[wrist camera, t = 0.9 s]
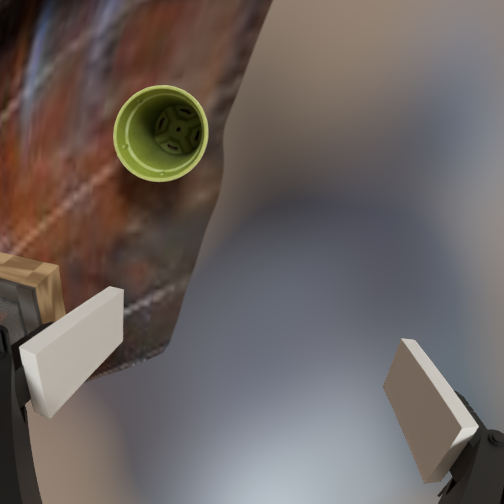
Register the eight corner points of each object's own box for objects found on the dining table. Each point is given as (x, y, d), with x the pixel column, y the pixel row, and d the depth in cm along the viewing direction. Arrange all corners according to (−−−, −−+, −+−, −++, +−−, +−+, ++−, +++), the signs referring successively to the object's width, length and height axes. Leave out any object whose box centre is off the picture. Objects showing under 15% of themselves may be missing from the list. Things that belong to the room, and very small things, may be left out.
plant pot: (203, 178, 38) (190, 195, 30) (133, 155, 37) (103, 167, 29) (229, 104, 35) (222, 100, 27) (155, 83, 33) (129, 76, 25)
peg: (-4, 290, 38) (-31, 316, 31) (23, 298, 38) (-5, 327, 31) (4, 321, 40) (-20, 348, 33) (31, 331, 40) (7, 360, 33)
